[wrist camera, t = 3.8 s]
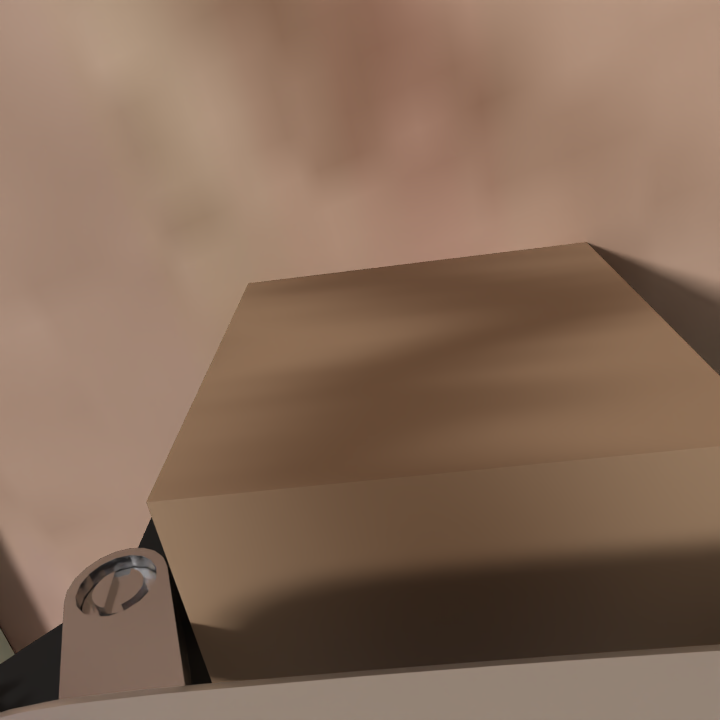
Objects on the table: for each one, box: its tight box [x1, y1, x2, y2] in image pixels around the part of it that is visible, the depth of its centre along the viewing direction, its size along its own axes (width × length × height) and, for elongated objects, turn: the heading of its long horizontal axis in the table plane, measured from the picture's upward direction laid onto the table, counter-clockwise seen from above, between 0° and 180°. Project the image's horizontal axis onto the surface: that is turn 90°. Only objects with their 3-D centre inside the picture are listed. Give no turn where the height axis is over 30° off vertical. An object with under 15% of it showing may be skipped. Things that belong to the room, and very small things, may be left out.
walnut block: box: [146, 242, 720, 683], centre depth 10 cm, size 6×6×6 cm
